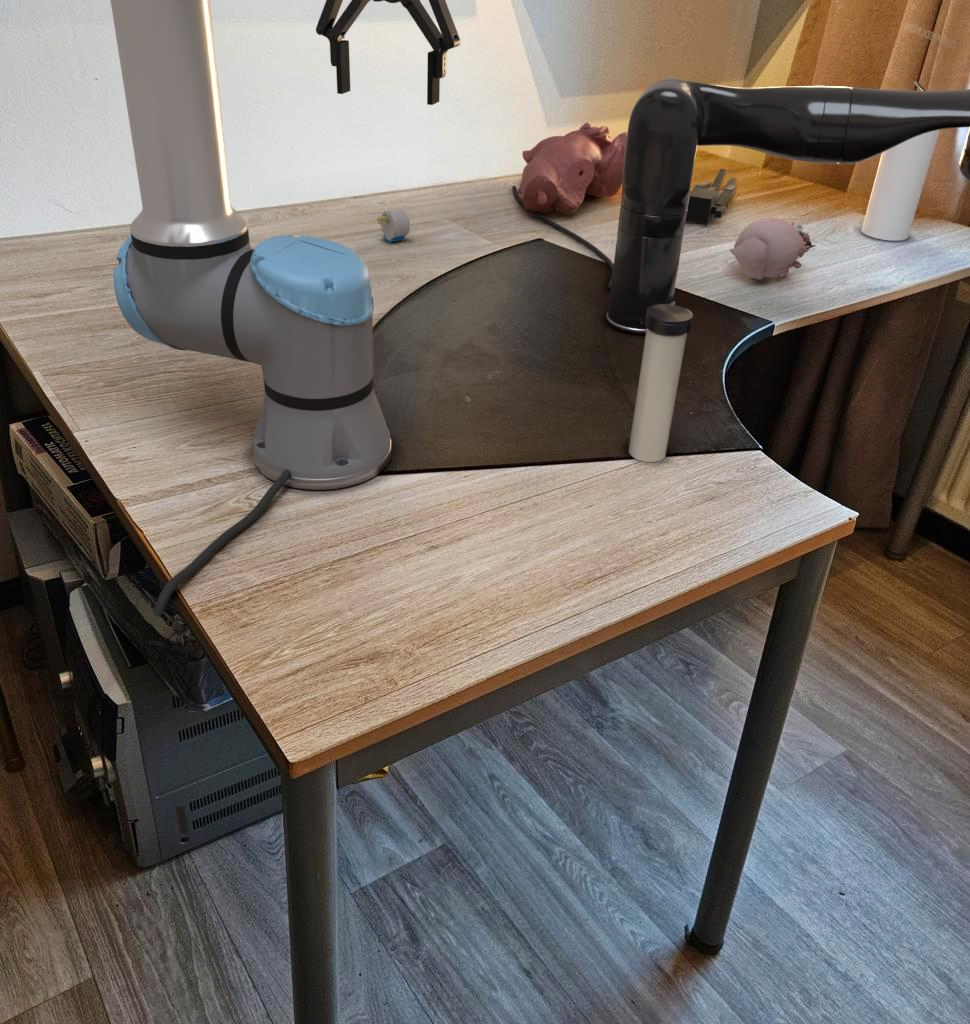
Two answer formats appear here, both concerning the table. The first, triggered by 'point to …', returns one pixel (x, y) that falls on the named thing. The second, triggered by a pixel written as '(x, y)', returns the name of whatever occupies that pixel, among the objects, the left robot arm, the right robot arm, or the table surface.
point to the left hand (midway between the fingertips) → (388, 97)
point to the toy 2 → (770, 247)
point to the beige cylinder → (656, 395)
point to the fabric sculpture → (572, 169)
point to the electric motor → (394, 225)
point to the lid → (668, 319)
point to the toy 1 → (709, 199)
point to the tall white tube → (900, 183)
